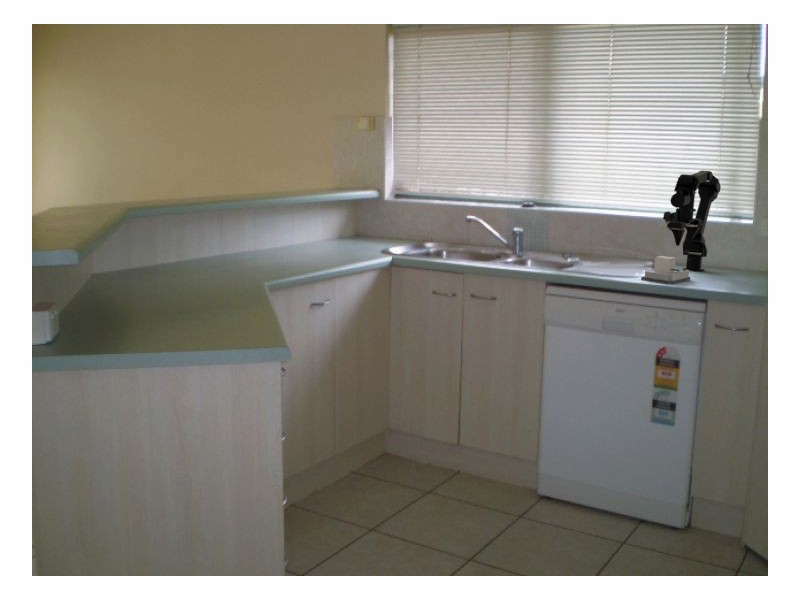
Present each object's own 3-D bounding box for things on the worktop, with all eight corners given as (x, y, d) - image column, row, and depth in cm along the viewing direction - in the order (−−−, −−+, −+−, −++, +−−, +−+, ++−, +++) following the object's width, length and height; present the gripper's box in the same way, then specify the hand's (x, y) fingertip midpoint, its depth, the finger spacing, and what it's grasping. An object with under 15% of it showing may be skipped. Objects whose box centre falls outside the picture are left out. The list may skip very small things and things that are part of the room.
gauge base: (660, 275, 358) (660, 265, 358) (690, 280, 350) (691, 269, 349) (641, 279, 348) (641, 269, 348) (671, 284, 339) (672, 273, 339)
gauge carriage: (660, 274, 351) (661, 255, 350) (681, 277, 345) (682, 258, 344) (653, 276, 348) (655, 257, 346) (674, 279, 342) (676, 259, 340)
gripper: (679, 203, 369) (676, 240, 373) (656, 205, 356) (653, 244, 360) (704, 205, 362) (701, 243, 365) (682, 208, 349) (678, 247, 352)
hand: (683, 244), depth 360 cm, fingers open, 9 cm apart
